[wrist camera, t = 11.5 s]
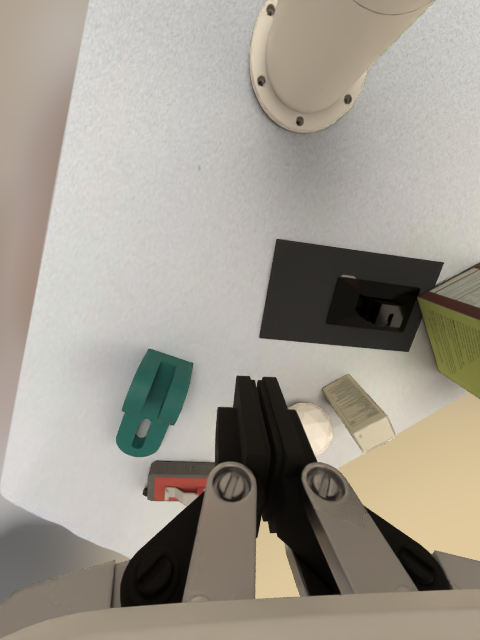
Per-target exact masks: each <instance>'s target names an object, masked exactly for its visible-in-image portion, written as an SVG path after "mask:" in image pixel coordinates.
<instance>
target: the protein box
mask: <svg viewBox="0 0 480 640" xmlns="http://www.w3.org/2000/svg"><path fill="white" fill-rule="evenodd" d="M417 299H418V302H419V306H420V309H421V312H422V315H423V319H424V322H425V326H426V329H427V332H428V335H429V339H430V342H431V345H432V349H433V352H434V356H435V359H436V362H437V366H438V369H439V372H440V373H442V374H443V375H445V376H446V377H448V378H449V379H451V380H452V381H454V382H455V383H457V384H458V385H460V386H461V387H462V388H464V389H466V390H467V391H468V392H470V393H472V394H473V395H475V396H476V397H478V398H479V399H480V264H478V265H476V266H474V267H472V268H470V269H468V270H466V271H465V272H463V273H461V274H459V275H457V276H455V277H453V278H451V279H449V280H448V281H446V282H444V283H442V284H440V285H438V286H436V287H434V288H433V289H431V290H429V291H427V292H425V293H423V294H421V295H419V296H418V297H417Z"/></svg>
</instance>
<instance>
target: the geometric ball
mask: <svg viewBox="0 0 480 640" xmlns="http://www.w3.org/2000/svg"><path fill="white" fill-rule="evenodd" d="M288 409H295V410H296V411H297V413H298V416H299V418H300V420H301V423H302V425H303V428H304V430H305V433H306V435H307V438H308V440H309V442H310V445H311V447H312V450H313V452H314V455H315V456H317V455H319V454H320V453H322V452H324V451H325V450H326V449H327V447H328V445H329V444H330V442H331V440H332V439H333V436H332V425H331V422H330V420H329V418H328V416H327V414H326V412H325V411H324V410H323V409H321V408H319V407H318V406H316V405H315V404H313V403H297V404H295V405H293V406H291V407H289V408H288Z"/></svg>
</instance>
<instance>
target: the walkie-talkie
mask: <svg viewBox="0 0 480 640" xmlns="http://www.w3.org/2000/svg"><path fill="white" fill-rule="evenodd" d="M214 467H215V463H193V462H160V461H156V462H154V463H152V465H151V469H150V472H149V476H148V487H146V488H144V490H143V495H144V496H147V499H148V500H151V501H179V502H180V503H182V504H184V505H186V506H188V505H189V504H190V503H191V502H193V501H194V500H195V499H196V498H197V497H198V496H199V495H200V494H201V493H202V492H203V491H205V489H206V484H207V479H208V477H209V474H210V472H211V471H212V470H213V468H214Z"/></svg>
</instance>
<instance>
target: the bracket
mask: <svg viewBox="0 0 480 640" xmlns="http://www.w3.org/2000/svg"><path fill="white" fill-rule="evenodd" d="M192 367H193V363H191V362H188V361H185V360H182V359H179V358H176V357H173V356H170V355H167V354H164V353H161V352H158V351H155V350H152V349H148V351H147V353H146V355H145V357H144V359H143V360H142V362H141V364H140V366H139V368H138V370H137V372H136V374H135V377H134V379H133V381H132V384H131V386H130V388H129V391H128V393H127V396H126V399H125V402H124V405H123V408H122V411H123V412H125V414H124V416H123V419H122V422H121V425H120V428H119V431H118V433H117V436H116V442H117V445H118V447H119V448H120V450H121V451H123V452H124V453H126V454H128V455H130V456H134V457H146V456H149V455H151V454H153V453H155V452H156V451H157V450H158V449H159V447H160V445H161V442H162V440H163V438H164V435H165V433H166V431H167V428H168V426H169V424H170V425H174V424H175V423H176V421H177V419H178V417H179V414H180V412H181V409H182V406H183V404H184V401H185V398H186V395H187V391H188V388H189V384H190V379H191V373H192ZM142 419H149V420H150V421H151V425H150V427H149V430H148V432H147V435H146V436H145V437H144V438H139V437H137V435H136V432H137V429H138V426H139V424H140V421H141V420H142Z"/></svg>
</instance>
